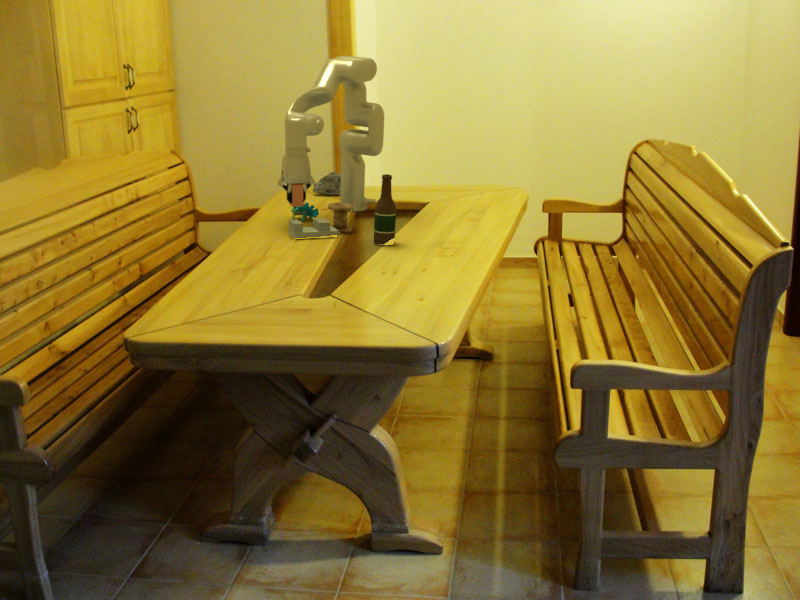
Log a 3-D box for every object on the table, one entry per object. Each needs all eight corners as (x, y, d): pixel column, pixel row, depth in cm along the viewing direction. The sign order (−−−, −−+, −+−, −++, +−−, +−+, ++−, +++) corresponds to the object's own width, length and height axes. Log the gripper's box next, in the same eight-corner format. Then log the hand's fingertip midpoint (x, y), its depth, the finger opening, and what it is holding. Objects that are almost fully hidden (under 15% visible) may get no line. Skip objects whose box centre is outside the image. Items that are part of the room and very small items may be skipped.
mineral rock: (311, 195, 413) (312, 172, 410) (319, 191, 423) (319, 168, 420) (340, 198, 411) (341, 174, 408) (347, 194, 421) (348, 170, 418)
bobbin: (347, 227, 361) (348, 202, 358) (355, 233, 353) (356, 207, 350) (324, 228, 357) (324, 203, 354) (332, 234, 349) (332, 208, 347)
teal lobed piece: (323, 215, 371) (312, 200, 363) (319, 228, 368) (308, 213, 360) (298, 215, 375) (287, 200, 367) (294, 228, 373) (282, 213, 365)
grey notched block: (331, 232, 352) (331, 217, 350) (338, 237, 345) (338, 222, 343) (288, 234, 346) (288, 219, 344) (294, 240, 339) (294, 224, 337)
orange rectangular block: (300, 203, 356) (300, 182, 354) (303, 206, 353) (303, 184, 350) (289, 204, 355) (289, 182, 352) (292, 206, 351) (292, 185, 349)
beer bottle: (398, 242, 342) (402, 174, 335) (389, 247, 335) (392, 177, 328) (379, 239, 345) (381, 172, 338) (369, 244, 338) (371, 175, 331)
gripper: (315, 148, 354) (315, 198, 360) (270, 151, 348) (271, 201, 354) (321, 152, 347) (321, 203, 353) (275, 154, 341) (276, 206, 347)
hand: (296, 201), depth 353 cm, fingers closed on orange rectangular block, 4 cm apart
